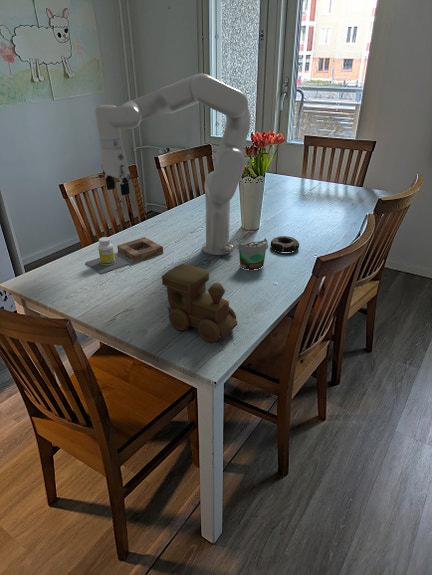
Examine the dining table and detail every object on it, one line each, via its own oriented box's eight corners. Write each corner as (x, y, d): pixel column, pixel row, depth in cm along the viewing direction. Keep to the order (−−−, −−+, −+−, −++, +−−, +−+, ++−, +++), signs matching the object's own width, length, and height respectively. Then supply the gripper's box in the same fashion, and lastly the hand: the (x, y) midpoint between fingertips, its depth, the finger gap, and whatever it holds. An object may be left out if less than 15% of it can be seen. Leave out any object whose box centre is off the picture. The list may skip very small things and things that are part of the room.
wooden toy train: (162, 325, 123) (159, 276, 115) (185, 308, 131) (183, 261, 123) (219, 348, 114) (220, 296, 105) (240, 328, 122) (242, 278, 114)
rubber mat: (129, 264, 158) (129, 263, 157) (100, 274, 151) (100, 273, 150) (113, 254, 165) (113, 253, 165) (85, 263, 158) (85, 262, 158)
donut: (264, 249, 171) (265, 240, 169) (281, 241, 178) (281, 232, 176) (287, 257, 164) (288, 248, 162) (304, 248, 171) (305, 239, 169)
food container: (245, 275, 151) (246, 250, 146) (236, 268, 155) (237, 243, 150) (273, 268, 156) (275, 243, 151) (264, 261, 160) (265, 237, 155)
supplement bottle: (102, 259, 160) (98, 236, 155) (116, 259, 160) (113, 236, 155) (99, 266, 155) (95, 242, 150) (114, 265, 156) (110, 241, 151)
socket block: (163, 253, 166) (162, 246, 165) (135, 263, 159) (134, 255, 157) (145, 243, 175) (144, 237, 173) (118, 252, 167) (117, 245, 166)
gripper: (134, 145, 141) (140, 194, 150) (107, 139, 152) (114, 185, 161) (115, 148, 137) (122, 199, 146) (89, 142, 148) (97, 189, 156)
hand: (118, 191), depth 153 cm, fingers open, 9 cm apart
